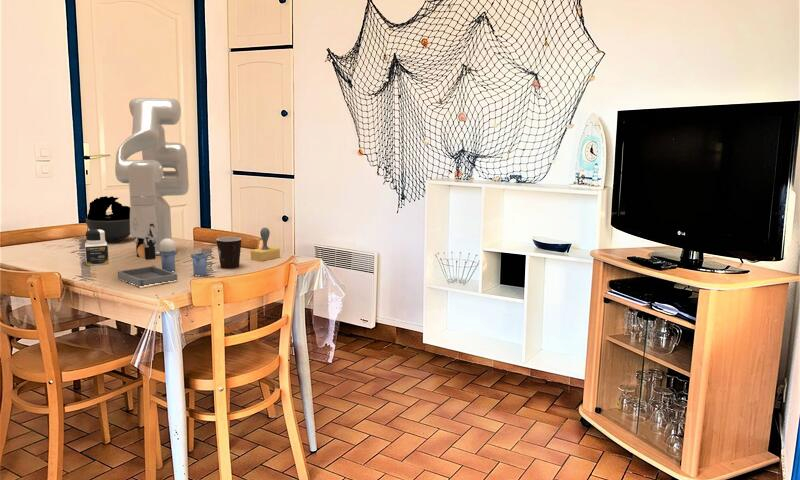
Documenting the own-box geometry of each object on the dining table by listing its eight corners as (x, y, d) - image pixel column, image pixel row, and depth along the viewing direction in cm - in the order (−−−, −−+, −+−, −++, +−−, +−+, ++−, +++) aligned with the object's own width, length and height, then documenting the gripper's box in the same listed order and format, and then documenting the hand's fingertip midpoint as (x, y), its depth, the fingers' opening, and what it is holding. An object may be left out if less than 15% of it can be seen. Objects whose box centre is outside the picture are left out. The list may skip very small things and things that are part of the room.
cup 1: (159, 271, 220) (158, 251, 219) (171, 269, 224) (170, 249, 222) (165, 273, 217) (164, 253, 216) (177, 271, 221) (176, 251, 219)
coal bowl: (102, 236, 282) (99, 193, 278) (147, 237, 281) (144, 194, 278) (77, 245, 262) (74, 199, 259) (126, 246, 261) (123, 200, 258)
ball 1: (134, 258, 206) (133, 243, 205) (149, 256, 210) (149, 241, 209) (142, 260, 203) (141, 245, 202) (157, 258, 206) (156, 243, 206)
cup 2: (190, 274, 216) (190, 254, 215) (202, 272, 219) (202, 252, 218) (197, 277, 213) (197, 256, 212) (209, 275, 216) (208, 254, 215)
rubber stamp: (260, 262, 238) (260, 230, 236) (250, 259, 241) (249, 228, 239) (280, 257, 246) (280, 226, 244) (269, 255, 249) (269, 225, 247)
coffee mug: (219, 264, 233) (218, 236, 231) (244, 264, 234) (243, 236, 232) (213, 271, 221) (212, 242, 220) (238, 271, 222) (238, 243, 220)
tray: (118, 279, 209) (117, 271, 208) (153, 273, 218) (152, 265, 217) (140, 288, 198) (140, 280, 198) (177, 281, 207) (176, 274, 206)
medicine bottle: (86, 265, 226) (84, 232, 224) (86, 261, 233) (83, 229, 230) (108, 264, 230) (106, 231, 227) (107, 260, 236) (105, 227, 234)
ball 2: (157, 252, 219) (156, 238, 218) (171, 250, 223) (170, 236, 222) (164, 255, 216) (163, 240, 215) (178, 253, 219) (177, 238, 219)
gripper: (119, 199, 206) (122, 255, 209) (144, 204, 195) (147, 263, 198) (142, 198, 211) (144, 252, 215) (167, 203, 200) (170, 260, 203)
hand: (146, 257), depth 206 cm, fingers closed on ball 1, 4 cm apart
